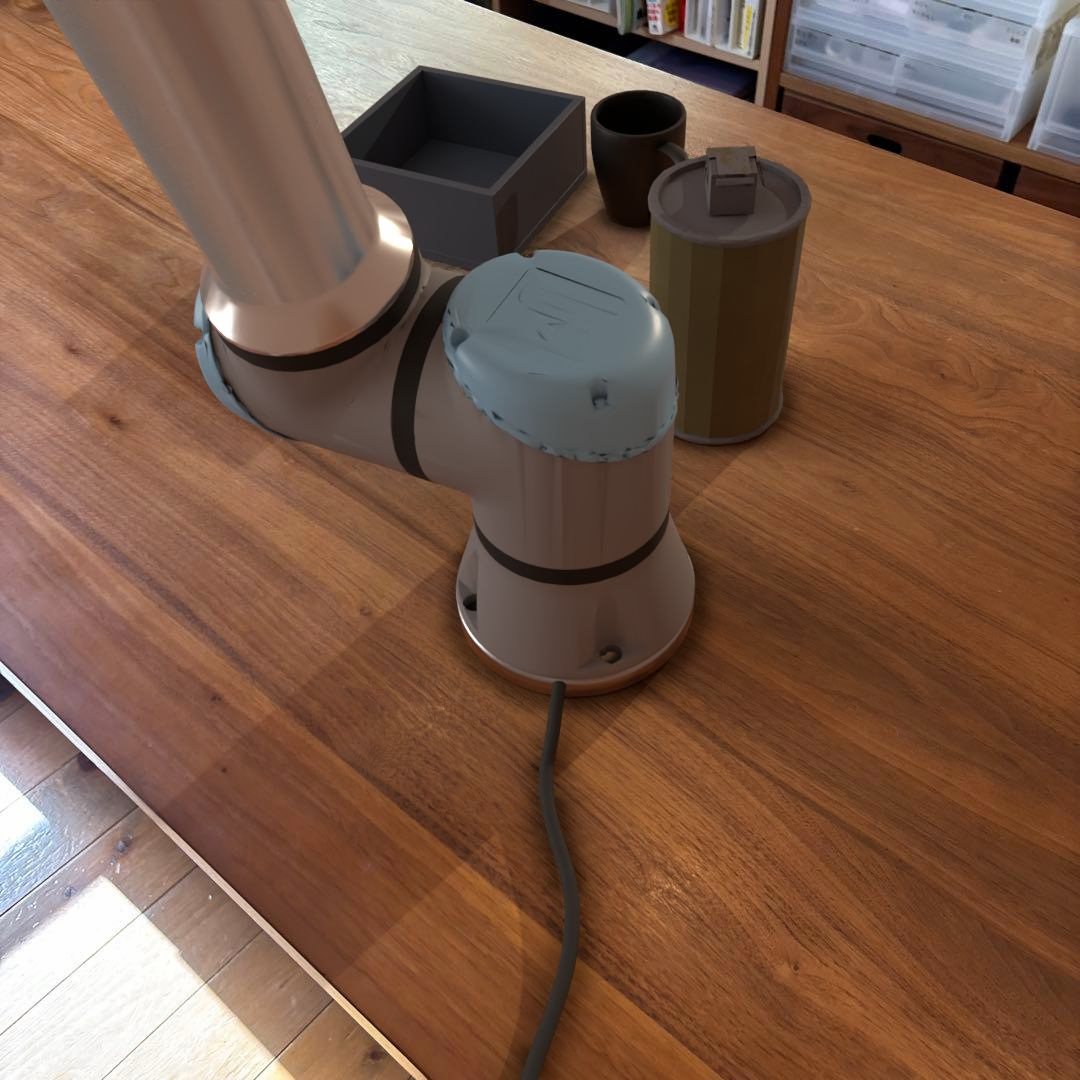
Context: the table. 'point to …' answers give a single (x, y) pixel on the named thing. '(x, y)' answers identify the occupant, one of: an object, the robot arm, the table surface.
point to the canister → (727, 286)
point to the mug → (635, 149)
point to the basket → (471, 160)
